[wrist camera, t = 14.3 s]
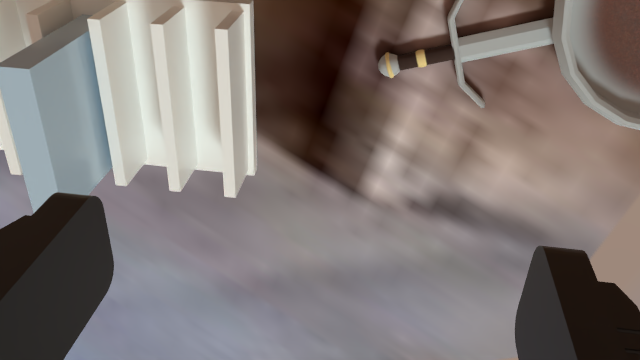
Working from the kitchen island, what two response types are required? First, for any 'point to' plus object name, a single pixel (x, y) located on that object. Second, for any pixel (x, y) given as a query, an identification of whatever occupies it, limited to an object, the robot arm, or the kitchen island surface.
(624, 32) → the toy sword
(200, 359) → the kitchen island surface
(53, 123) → the grey board
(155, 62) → the dish rack
